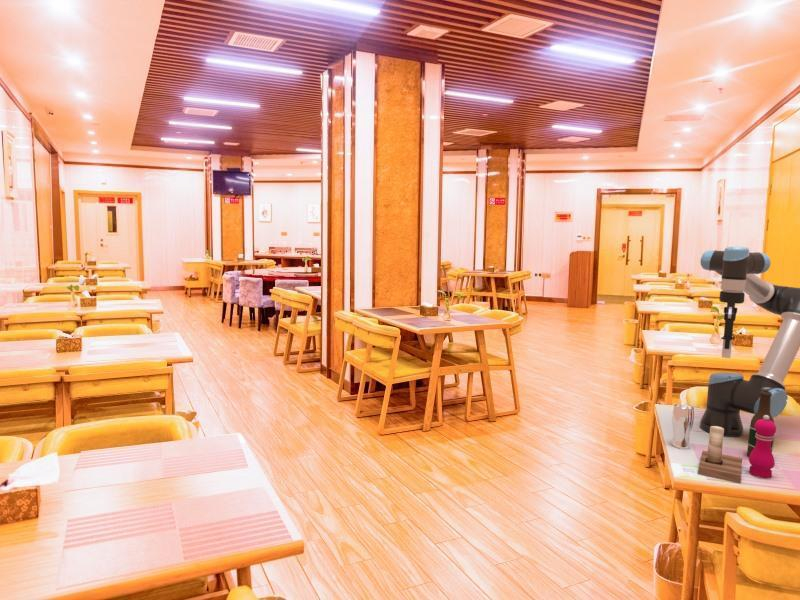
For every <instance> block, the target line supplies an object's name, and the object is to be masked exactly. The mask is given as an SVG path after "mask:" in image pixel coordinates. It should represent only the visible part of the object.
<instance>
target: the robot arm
mask: <svg viewBox="0 0 800 600" xmlns="http://www.w3.org/2000/svg"><path fill="white" fill-rule="evenodd" d="M699 263H700V266H701V268H702V269H703V270H705V271H709V272H712V271H714V272H715V273H716V274H718V275H720V276H721V280H719V281H718V283H719V284H720V292H719V302H721V303H723V304H724V303H726V306H724V307H723V313H724V315H723V320H724V330H723V336H721V340H722V348H721V350H722V351H721V358H725V359H731V358H732V357H731V354H732V346H733V340H735V336H733V335H734V333H733V332H734V322H735V321H736V318H737V317H736V316H737V313H738V307H736V304H739V305H740V304H743V303H744V302H745V294H746V295H748V298H749V300H750V301H751V302H752V303H754V304H755V305H757V306H759V307H760V308H762V309H764V310H766V311H767V312H769V313H773V314H775V315H778V316H780V318H781V319H782V322H781V324H780V326H779V329H778V331H777V333H776V334H775V337H774V339H773V341H772V343H771V345H770V347H769V349H768V351H767V353H766V355H765V358H764V359H763V361H762V363H761V366H760V368H759V370H758V372H756V373H752V374H751V376H750V378H749V379H748V380H746V379H745V378H744V375H743V374H742V373H738V372H737V373H735V372H714V373H711V374H710V376H709V379H708V383H707V384H708V385H707V398H706V407H705V411H704V412H703V414H702V416H701V418H700V420H699V421H700V422H699V428H700V429H701V430H703V431H704V432H706V433H709V434H710V427H711V426H718V427H722V428H724V435H723V437H739V436H742V435H743V434H744V427H743V423H742V419H741V415H740V412H741V411H742V412H744V413H745V412H746V413H749V414H752V415H755V414H756V413H757V411H758V407H759V401H760V396H761V395H760V392H761V391H769V392H771V393H772V396H771V401H770V414H771V416H772V418H773V419H775V418H776V417H778V416H779V415H781V414H782V413H783V411H784V410H785V408H786V406H787V403H788V401H787V400H788V398H789V397H788V394H787V393H788V392H787V391H786V386H785V384H784V382H785V379H786V377H787V375H788V373H789V371H790V369H791V367H792V365H793V362H794V360H795V357H796V356H797V353H798V351H799V350H800V287H793V286H783V285H777V284H772V282H770V281H766V280H763V279H762V278H760V277H758V276H757V275H758V274H764V273H765V272H767V271H768V270H769V269H770V268H771V264H772V263H771V258H770V257H769V256H768V254H765V253H763V252H757V251H754V252H750V249H749V248H748V247H745V246H727V247H725V249H724V250H715V249H714V250H706V251H704V252H703V253H702V255H701V258H700V262H699Z"/></svg>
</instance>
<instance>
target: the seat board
mask: <svg viewBox="0 0 800 600" xmlns="http://www.w3.org/2000/svg"><path fill="white" fill-rule="evenodd" d="M707 456H708V450H704V449H703V450H702V452H701V456H700V459H699V464H698V469H697V470H698V471H697V475H700V474H701V475H700V476H706V477H710V478H714V477H715V478H716V479H719V478H720V479H719V480H723V479H724V481H729V482H732V483H733V482H734V483H737V484H741V481H742V470H743V457H740V456H734V455H728V454H724V453H722V455H721V463H720V464H719V465H717V464H712V463H708V461H707Z"/></svg>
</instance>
